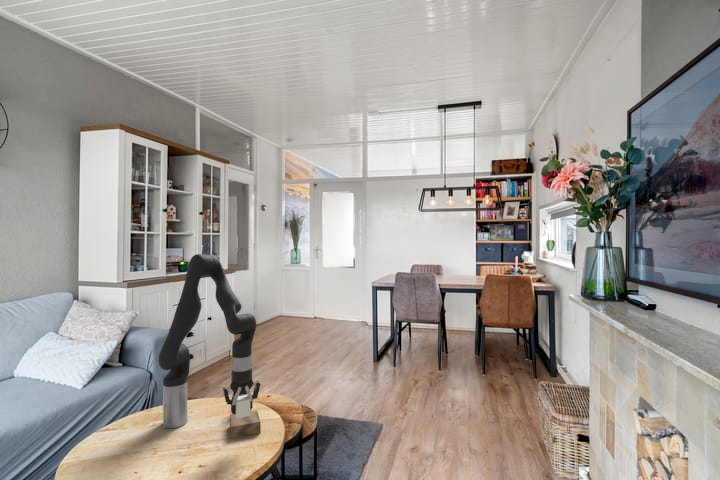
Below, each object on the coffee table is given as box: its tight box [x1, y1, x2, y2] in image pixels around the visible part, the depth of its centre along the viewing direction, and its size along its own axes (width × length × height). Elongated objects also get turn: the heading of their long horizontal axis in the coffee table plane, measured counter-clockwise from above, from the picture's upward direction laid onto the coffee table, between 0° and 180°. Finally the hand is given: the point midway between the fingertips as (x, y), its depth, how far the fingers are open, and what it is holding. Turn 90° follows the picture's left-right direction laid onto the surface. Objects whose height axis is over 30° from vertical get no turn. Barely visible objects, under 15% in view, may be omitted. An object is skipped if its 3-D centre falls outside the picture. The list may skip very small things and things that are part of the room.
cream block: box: [235, 395, 250, 419], centre depth 141 cm, size 5×5×6 cm
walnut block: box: [229, 410, 261, 440], centre depth 154 cm, size 11×11×5 cm
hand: (241, 411), depth 141 cm, fingers closed on cream block, 5 cm apart
